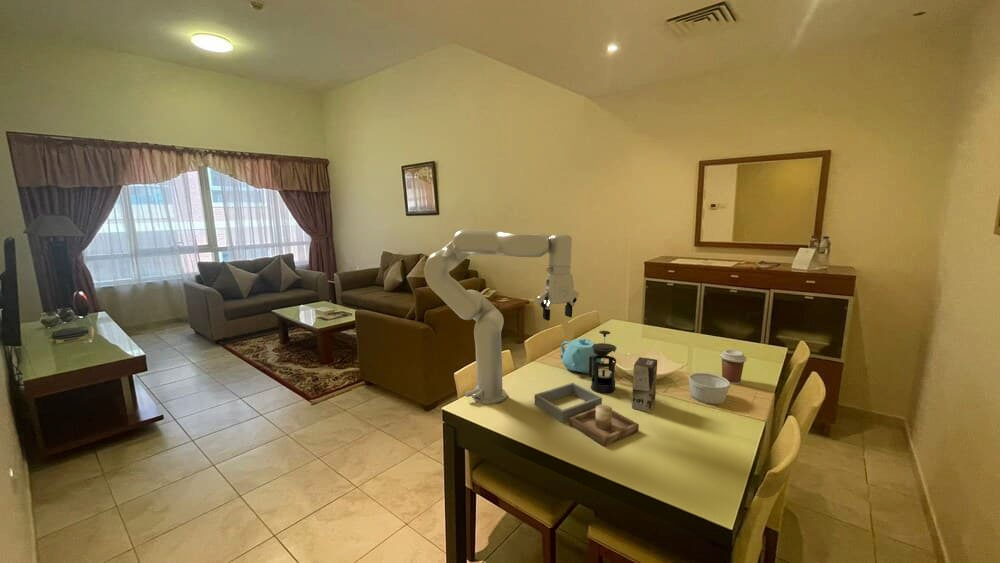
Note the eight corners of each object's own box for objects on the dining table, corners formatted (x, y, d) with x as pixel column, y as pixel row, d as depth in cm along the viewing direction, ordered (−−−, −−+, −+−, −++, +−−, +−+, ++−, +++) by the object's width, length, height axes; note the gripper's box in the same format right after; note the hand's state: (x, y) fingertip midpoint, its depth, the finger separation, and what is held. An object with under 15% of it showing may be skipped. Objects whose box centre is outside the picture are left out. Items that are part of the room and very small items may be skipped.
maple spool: (603, 431, 125) (604, 413, 124) (592, 424, 129) (592, 407, 128) (615, 426, 128) (615, 409, 127) (603, 420, 132) (603, 402, 131)
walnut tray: (604, 447, 119) (604, 439, 118) (569, 424, 131) (569, 417, 131) (638, 431, 126) (638, 424, 126) (602, 411, 139) (603, 405, 138)
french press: (622, 389, 155) (624, 332, 151) (607, 397, 150) (608, 337, 146) (597, 380, 165) (598, 325, 160) (582, 386, 159) (583, 330, 155)
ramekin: (726, 393, 151) (728, 375, 150) (729, 409, 139) (731, 390, 138) (687, 387, 157) (689, 370, 155) (687, 402, 145) (688, 383, 144)
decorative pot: (593, 360, 185) (594, 332, 183) (606, 374, 170) (607, 343, 167) (558, 362, 184) (559, 334, 182) (568, 377, 168) (568, 345, 166)
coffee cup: (719, 383, 159) (722, 354, 157) (716, 375, 167) (719, 347, 165) (746, 387, 156) (749, 357, 153) (742, 378, 164) (744, 349, 162)
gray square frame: (562, 423, 132) (562, 411, 131) (534, 405, 145) (534, 394, 144) (601, 408, 141) (602, 397, 141) (572, 392, 154) (572, 382, 153)
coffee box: (650, 412, 138) (652, 368, 135) (631, 408, 141) (632, 364, 138) (655, 402, 145) (658, 359, 142) (637, 397, 149) (639, 356, 146)
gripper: (545, 273, 133) (543, 323, 136) (585, 270, 141) (583, 317, 144) (532, 270, 139) (531, 318, 142) (572, 267, 147) (569, 312, 150)
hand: (557, 318), depth 143 cm, fingers open, 9 cm apart
